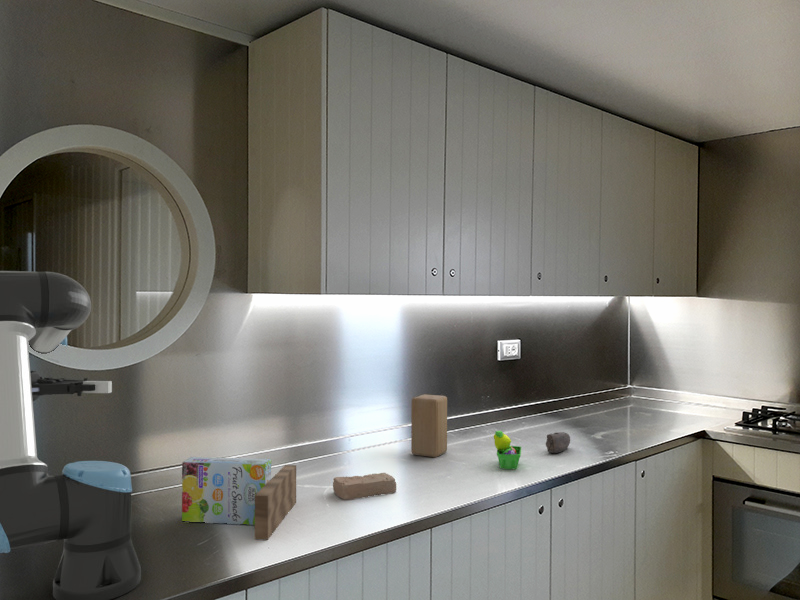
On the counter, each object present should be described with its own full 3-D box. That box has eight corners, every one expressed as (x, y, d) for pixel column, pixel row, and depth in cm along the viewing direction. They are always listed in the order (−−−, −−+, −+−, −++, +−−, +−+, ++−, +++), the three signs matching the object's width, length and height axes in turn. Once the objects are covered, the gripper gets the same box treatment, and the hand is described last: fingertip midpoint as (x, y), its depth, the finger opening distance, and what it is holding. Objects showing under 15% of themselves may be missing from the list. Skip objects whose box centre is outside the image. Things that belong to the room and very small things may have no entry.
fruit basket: (520, 470, 200) (520, 435, 200) (492, 469, 202) (492, 434, 202) (521, 461, 211) (521, 427, 211) (494, 460, 213) (494, 426, 213)
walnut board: (267, 539, 143) (267, 495, 143) (254, 539, 143) (254, 495, 143) (296, 502, 169) (296, 465, 169) (285, 502, 169) (285, 464, 169)
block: (410, 455, 220) (410, 397, 219) (422, 448, 228) (422, 393, 228) (436, 458, 215) (436, 399, 215) (448, 452, 224) (448, 395, 224)
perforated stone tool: (562, 446, 233) (562, 427, 233) (575, 448, 230) (576, 429, 229) (541, 453, 222) (541, 434, 222) (555, 456, 219) (555, 436, 219)
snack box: (272, 518, 157) (272, 458, 157) (264, 526, 151) (265, 464, 151) (190, 515, 159) (190, 455, 159) (180, 523, 154) (180, 461, 153)
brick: (385, 485, 185) (385, 469, 185) (397, 493, 177) (397, 477, 177) (331, 493, 178) (331, 477, 178) (342, 502, 170) (342, 485, 170)
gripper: (37, 397, 161) (124, 398, 159) (-1, 405, 148) (94, 407, 146) (37, 368, 161) (124, 368, 159) (-1, 373, 148) (94, 374, 146)
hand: (110, 387), depth 152 cm, fingers closed
